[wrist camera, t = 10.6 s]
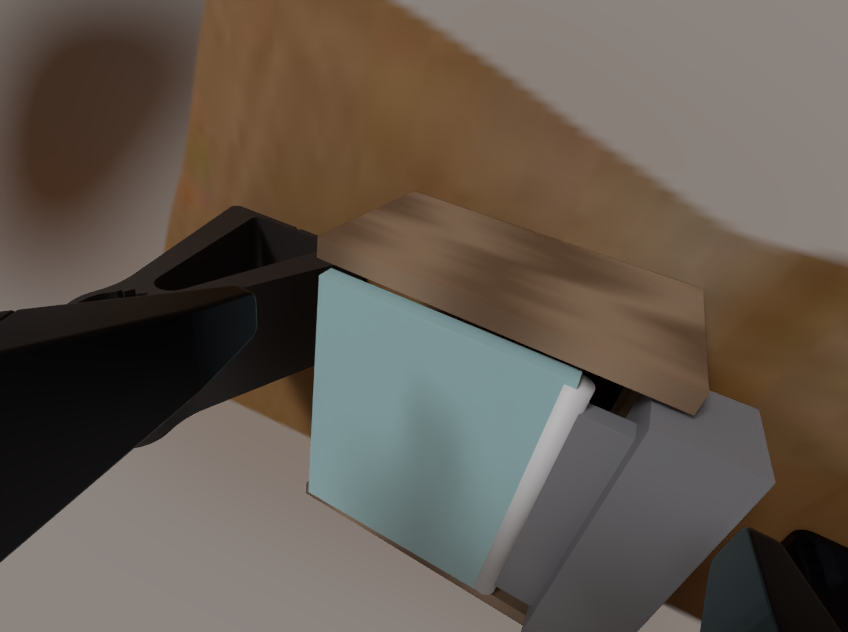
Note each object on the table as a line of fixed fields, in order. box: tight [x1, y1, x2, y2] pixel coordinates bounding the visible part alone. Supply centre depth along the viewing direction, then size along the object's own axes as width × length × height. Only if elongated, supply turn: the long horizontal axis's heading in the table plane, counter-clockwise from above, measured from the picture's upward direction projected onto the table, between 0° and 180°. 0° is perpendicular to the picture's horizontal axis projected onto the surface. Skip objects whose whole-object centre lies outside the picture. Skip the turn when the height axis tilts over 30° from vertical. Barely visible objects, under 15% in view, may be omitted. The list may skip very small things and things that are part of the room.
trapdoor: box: [308, 268, 775, 632], centre depth 18 cm, size 14×12×3 cm
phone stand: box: [68, 206, 363, 448], centre depth 22 cm, size 9×6×12 cm, turn 78°
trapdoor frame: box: [306, 191, 709, 625], centre depth 20 cm, size 12×14×7 cm
